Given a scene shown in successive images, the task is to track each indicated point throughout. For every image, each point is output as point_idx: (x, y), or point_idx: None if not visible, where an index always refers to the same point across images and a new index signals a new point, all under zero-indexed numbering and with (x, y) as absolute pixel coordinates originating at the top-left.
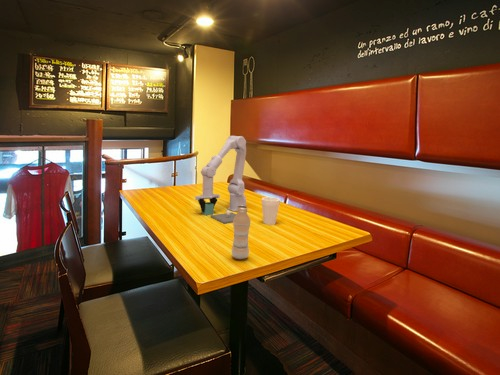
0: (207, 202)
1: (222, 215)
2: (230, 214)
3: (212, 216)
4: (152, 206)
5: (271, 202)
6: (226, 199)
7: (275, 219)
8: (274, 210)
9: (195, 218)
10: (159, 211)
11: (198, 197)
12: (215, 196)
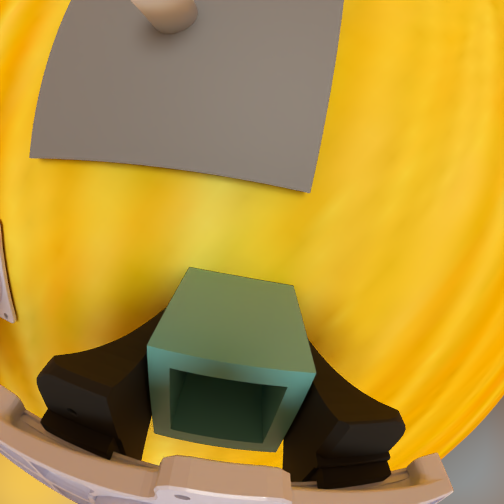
0: (185, 437)
1: (179, 95)
2: (81, 90)
3: (320, 140)
4: None
5: None
6: None
7: None
8: None
9: (435, 259)
10: (405, 457)
11: (434, 490)
12: (45, 445)
